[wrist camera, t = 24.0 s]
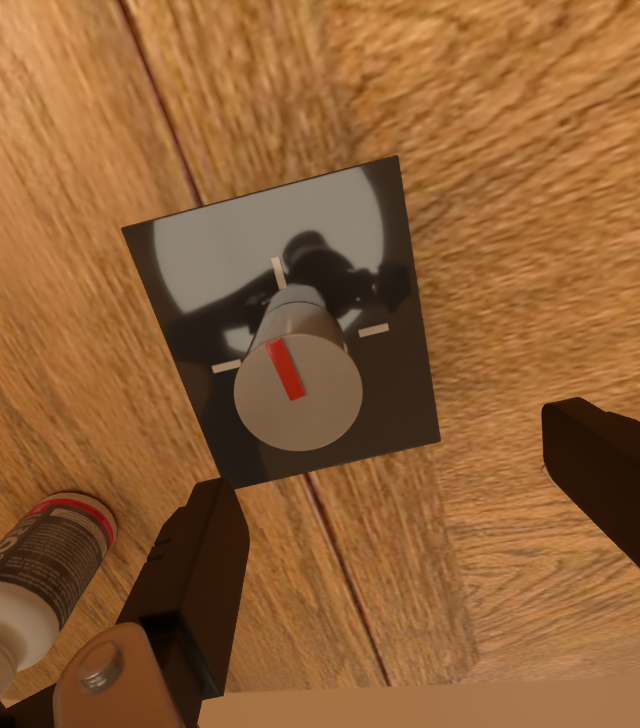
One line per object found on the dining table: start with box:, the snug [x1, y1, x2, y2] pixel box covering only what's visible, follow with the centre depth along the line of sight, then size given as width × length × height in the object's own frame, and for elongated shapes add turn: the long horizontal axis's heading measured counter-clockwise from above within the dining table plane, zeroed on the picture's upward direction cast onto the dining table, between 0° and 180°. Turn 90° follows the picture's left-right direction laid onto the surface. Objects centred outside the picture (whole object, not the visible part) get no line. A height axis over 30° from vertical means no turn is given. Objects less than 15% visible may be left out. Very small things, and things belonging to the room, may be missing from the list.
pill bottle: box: [0, 493, 117, 700], centre depth 20 cm, size 5×5×10 cm
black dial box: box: [121, 155, 441, 489], centre depth 19 cm, size 14×12×3 cm
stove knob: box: [234, 302, 363, 451], centre depth 15 cm, size 4×4×6 cm
